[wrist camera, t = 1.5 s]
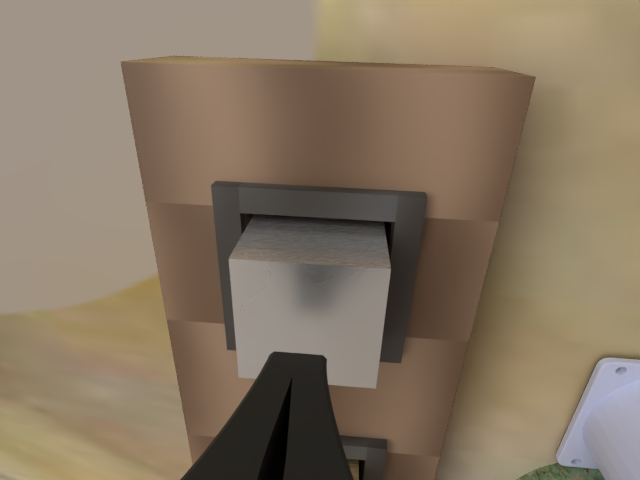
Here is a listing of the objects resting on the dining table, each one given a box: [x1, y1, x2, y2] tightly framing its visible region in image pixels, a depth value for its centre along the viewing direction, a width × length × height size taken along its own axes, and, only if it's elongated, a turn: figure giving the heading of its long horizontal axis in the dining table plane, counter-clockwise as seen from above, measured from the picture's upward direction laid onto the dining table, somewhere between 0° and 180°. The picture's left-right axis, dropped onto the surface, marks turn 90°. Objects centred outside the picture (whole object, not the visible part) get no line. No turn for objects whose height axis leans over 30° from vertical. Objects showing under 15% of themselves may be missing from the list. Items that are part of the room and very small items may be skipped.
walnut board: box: [121, 56, 536, 480], centre depth 19 cm, size 12×26×4 cm, turn 178°
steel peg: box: [229, 214, 391, 389], centre depth 14 cm, size 4×4×4 cm
